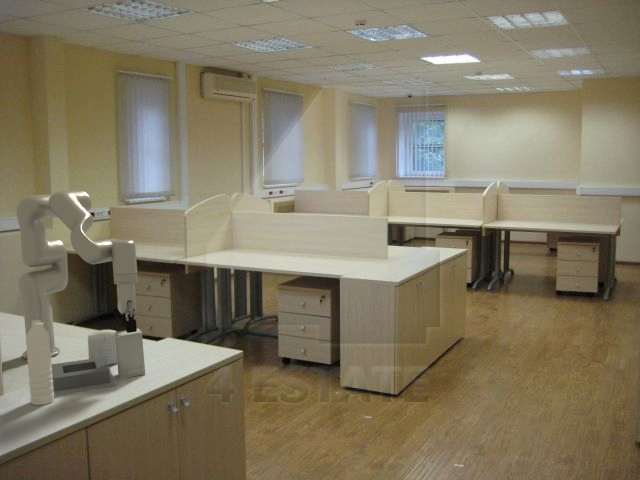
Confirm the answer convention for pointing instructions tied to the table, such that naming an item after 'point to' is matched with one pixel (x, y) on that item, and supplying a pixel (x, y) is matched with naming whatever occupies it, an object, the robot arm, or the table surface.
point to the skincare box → (130, 353)
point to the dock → (81, 376)
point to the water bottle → (39, 364)
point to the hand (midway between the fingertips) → (129, 328)
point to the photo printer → (103, 346)
